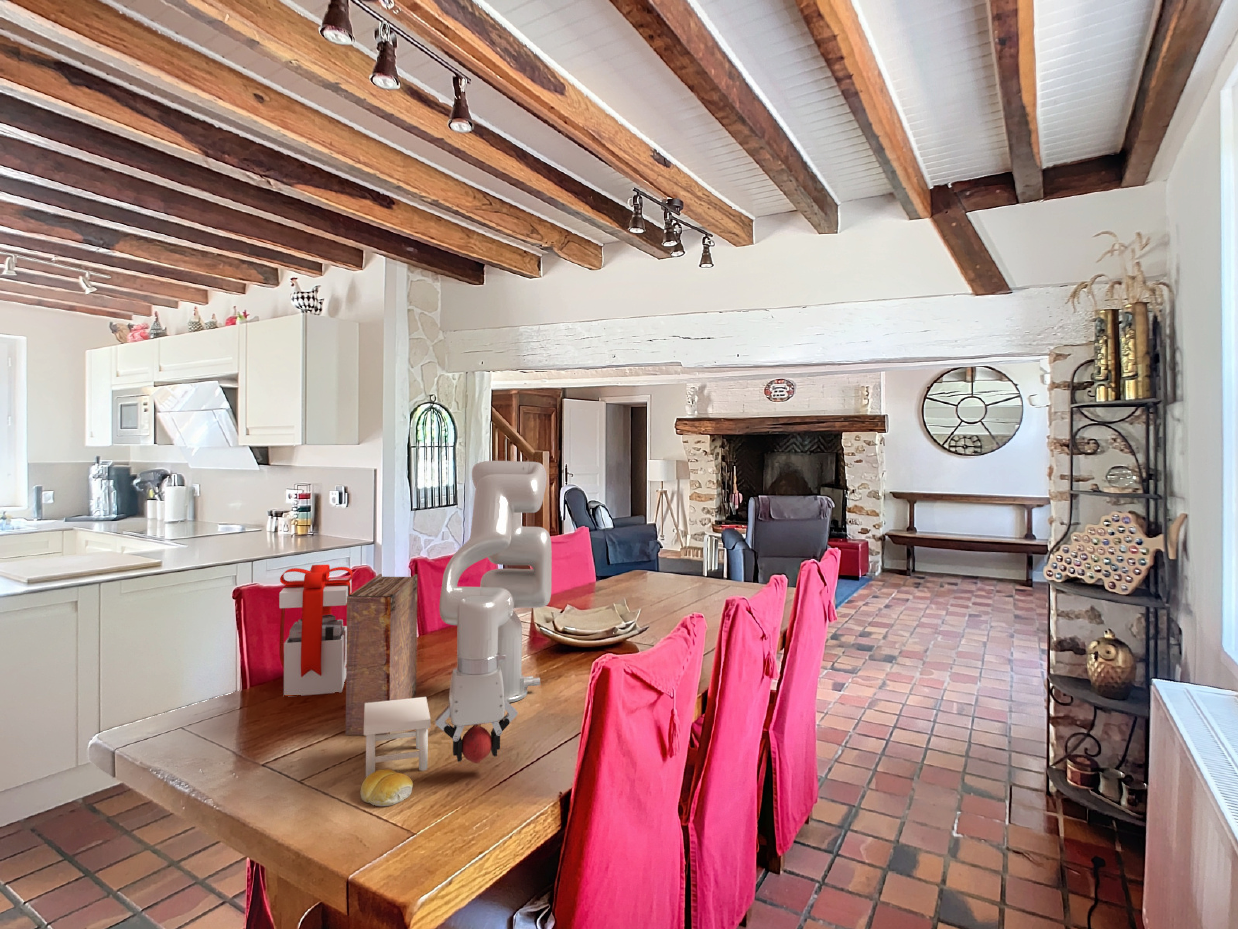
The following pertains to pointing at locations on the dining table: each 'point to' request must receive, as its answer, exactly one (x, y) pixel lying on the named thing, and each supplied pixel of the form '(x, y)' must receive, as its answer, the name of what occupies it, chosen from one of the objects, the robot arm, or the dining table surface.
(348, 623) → the book
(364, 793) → the bread roll
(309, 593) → the gift wrap
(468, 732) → the onion
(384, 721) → the stool
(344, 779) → the dining table surface
